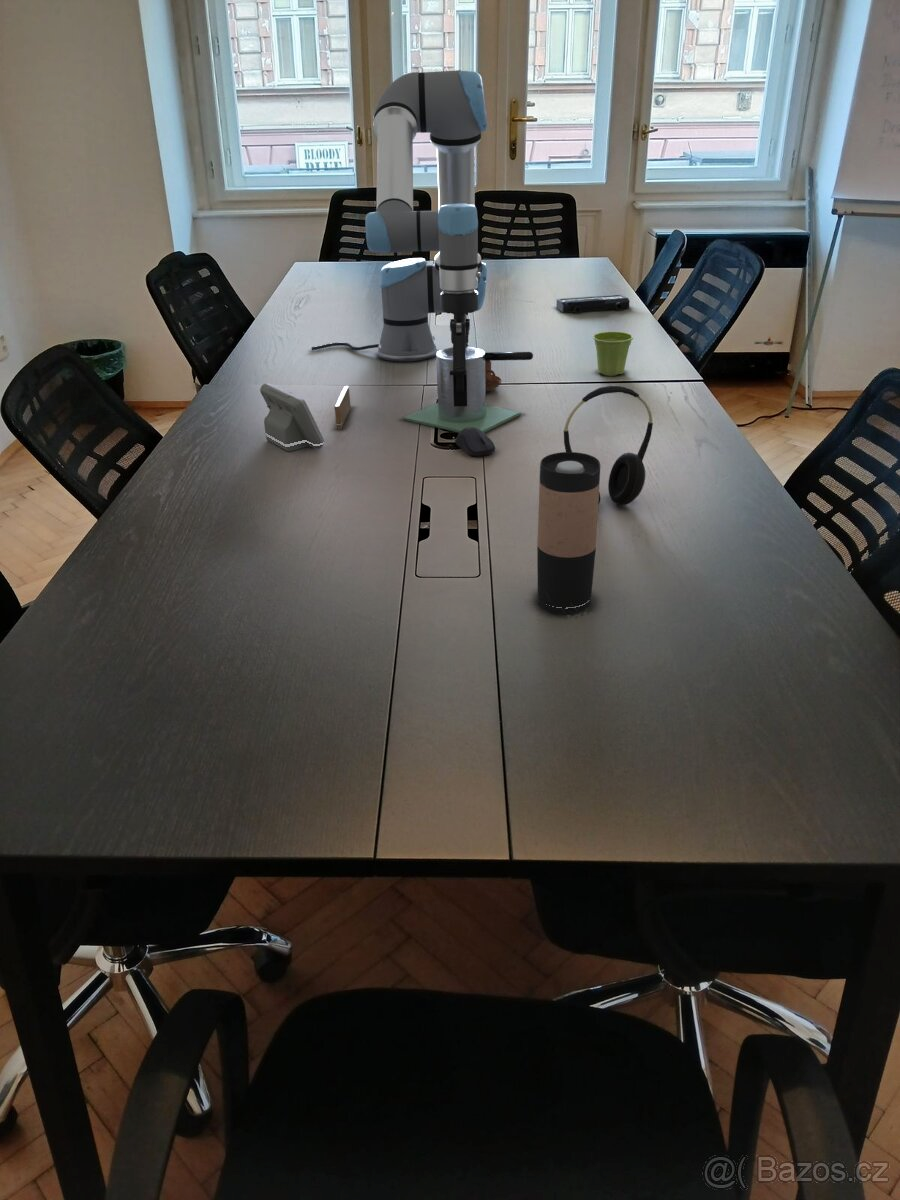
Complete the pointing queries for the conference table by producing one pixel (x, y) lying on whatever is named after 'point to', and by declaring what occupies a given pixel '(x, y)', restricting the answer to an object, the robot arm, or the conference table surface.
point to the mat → (485, 424)
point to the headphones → (629, 466)
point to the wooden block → (342, 407)
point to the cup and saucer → (490, 378)
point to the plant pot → (612, 351)
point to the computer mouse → (474, 442)
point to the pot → (474, 382)
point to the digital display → (592, 303)
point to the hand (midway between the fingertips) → (461, 395)
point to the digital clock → (289, 419)
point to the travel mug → (567, 530)
